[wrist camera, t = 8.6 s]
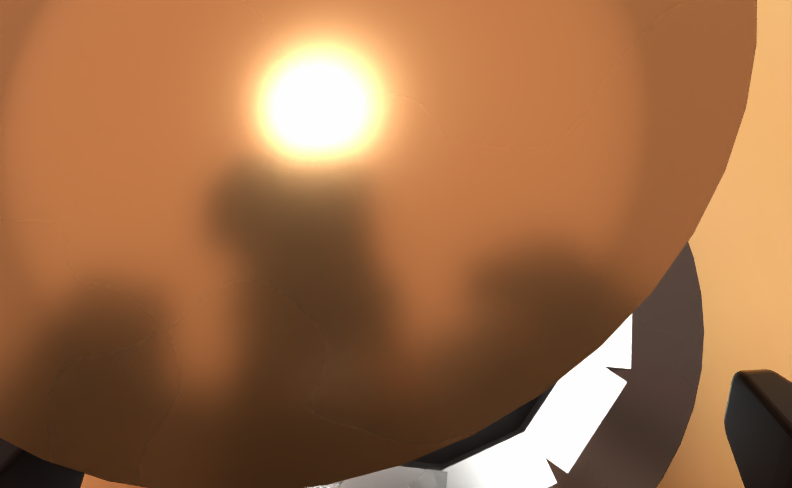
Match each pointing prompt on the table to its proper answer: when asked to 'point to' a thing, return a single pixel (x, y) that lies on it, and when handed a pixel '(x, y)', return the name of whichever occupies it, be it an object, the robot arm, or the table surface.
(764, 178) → the table surface
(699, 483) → the table surface
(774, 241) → the table surface
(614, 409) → the hub flange
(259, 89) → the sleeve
